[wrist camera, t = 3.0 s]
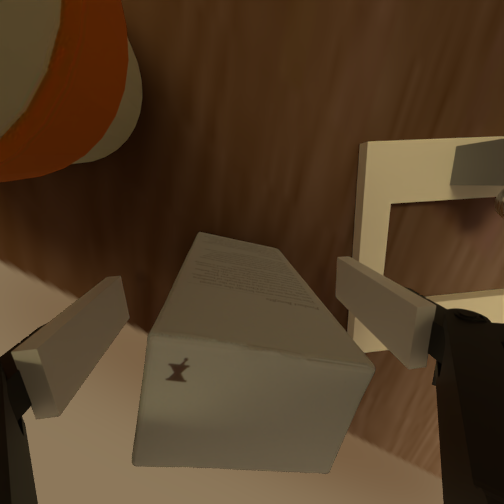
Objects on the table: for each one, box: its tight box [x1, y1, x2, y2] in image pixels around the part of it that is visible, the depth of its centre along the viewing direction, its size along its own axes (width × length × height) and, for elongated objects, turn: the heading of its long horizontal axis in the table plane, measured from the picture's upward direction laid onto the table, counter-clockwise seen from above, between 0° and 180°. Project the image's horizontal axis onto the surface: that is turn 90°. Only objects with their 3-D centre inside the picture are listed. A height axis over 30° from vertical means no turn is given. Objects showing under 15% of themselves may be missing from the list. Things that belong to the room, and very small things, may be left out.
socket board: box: [347, 136, 504, 353], centre depth 17 cm, size 16×18×6 cm
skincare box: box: [132, 232, 375, 474], centre depth 12 cm, size 6×4×12 cm
